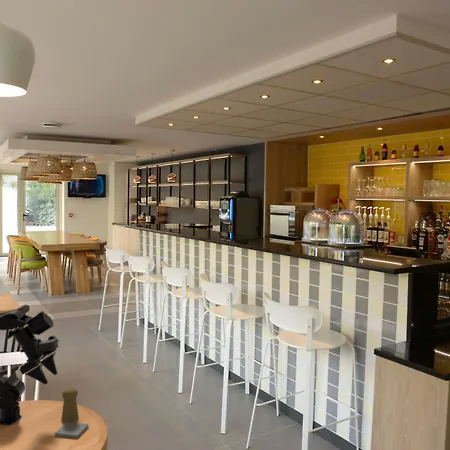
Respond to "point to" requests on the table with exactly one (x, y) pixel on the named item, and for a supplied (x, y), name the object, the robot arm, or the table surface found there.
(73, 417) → the cork
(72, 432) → the coaster
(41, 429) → the table surface
